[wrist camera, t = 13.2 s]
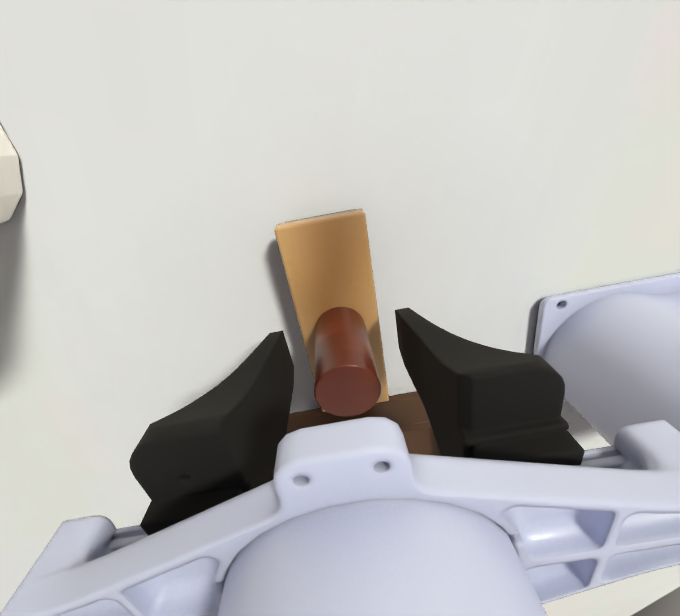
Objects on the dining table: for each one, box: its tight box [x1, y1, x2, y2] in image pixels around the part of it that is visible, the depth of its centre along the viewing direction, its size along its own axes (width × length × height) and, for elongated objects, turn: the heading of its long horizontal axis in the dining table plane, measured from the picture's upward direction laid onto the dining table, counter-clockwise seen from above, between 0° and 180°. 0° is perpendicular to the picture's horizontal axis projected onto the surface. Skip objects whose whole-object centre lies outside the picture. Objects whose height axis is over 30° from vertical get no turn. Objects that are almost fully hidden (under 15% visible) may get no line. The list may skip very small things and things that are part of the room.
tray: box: [286, 392, 441, 456], centre depth 23 cm, size 16×14×2 cm
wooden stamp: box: [275, 209, 389, 417], centre depth 14 cm, size 4×10×7 cm, turn 10°
